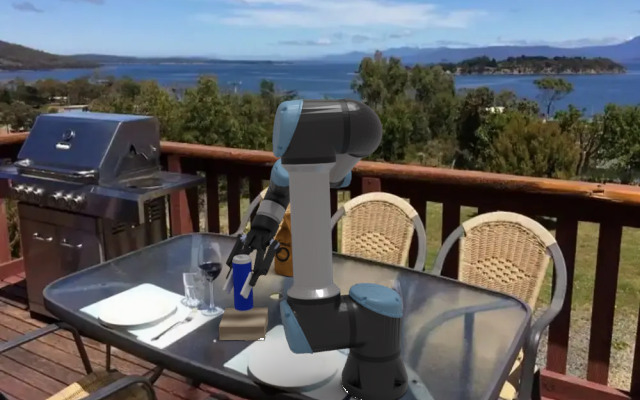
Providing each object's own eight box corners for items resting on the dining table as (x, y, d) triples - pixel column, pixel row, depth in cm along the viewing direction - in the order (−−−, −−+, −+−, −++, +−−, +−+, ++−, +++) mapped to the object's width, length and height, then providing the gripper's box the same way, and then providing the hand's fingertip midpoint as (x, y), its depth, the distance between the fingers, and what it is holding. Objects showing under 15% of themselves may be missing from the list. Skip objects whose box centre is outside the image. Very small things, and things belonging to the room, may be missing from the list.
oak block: (264, 340, 152) (264, 326, 151) (219, 340, 152) (218, 327, 151) (268, 320, 163) (267, 307, 163) (226, 320, 163) (225, 308, 162)
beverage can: (257, 308, 156) (255, 257, 153) (242, 314, 153) (239, 261, 149) (245, 303, 160) (243, 252, 156) (230, 309, 156) (228, 257, 153)
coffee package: (269, 274, 199) (267, 213, 194) (288, 263, 210) (286, 205, 205) (294, 278, 195) (293, 216, 190) (311, 267, 205) (311, 208, 200)
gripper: (300, 230, 160) (268, 306, 150) (247, 222, 169) (214, 293, 159) (289, 217, 155) (256, 294, 145) (236, 209, 163) (201, 282, 153)
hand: (234, 294), depth 152 cm, fingers closed on beverage can, 5 cm apart
